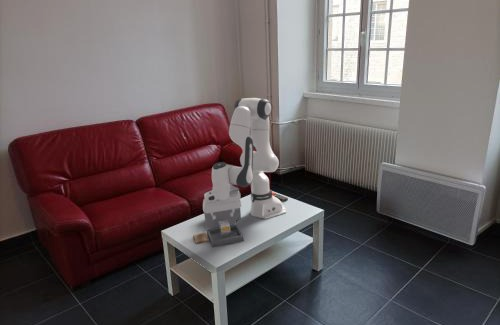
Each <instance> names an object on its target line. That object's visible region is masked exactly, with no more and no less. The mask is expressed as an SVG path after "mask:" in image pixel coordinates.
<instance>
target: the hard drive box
mask: <svg viewBox="0 0 500 325" xmlns="http://www.w3.org/2000/svg"><path fill="white" fill-rule="evenodd" d="M229 189H230V192H236V191H238V192H240V188H239V187H236V186H234V184H231V183H230V184H229ZM234 212H235V219H236V221H238V220H241V219H242V216H241V215H242V213H241V207H240V208H238V209H235V211H234Z"/></svg>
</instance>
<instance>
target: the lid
mask: <svg viewBox="0 0 500 325" xmlns="http://www.w3.org/2000/svg"><path fill="white" fill-rule="evenodd" d="M231 212H232V210H225V211H219V212H213V216H214V215H215V216H216V219H215V220H213V218H212V215H211V214H210V213H204V212H203V215H204V222H205V227H206V230H210V229H216V228H219V224H218V221H224V220H228V222H229V224H230V225H237V220H236V219H235V212H234V213H233V217H230V213H231Z"/></svg>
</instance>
